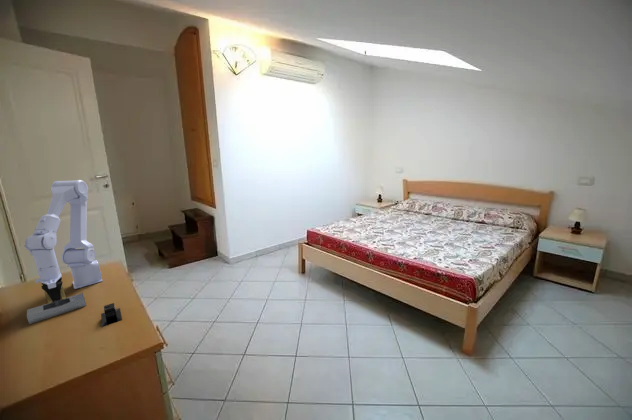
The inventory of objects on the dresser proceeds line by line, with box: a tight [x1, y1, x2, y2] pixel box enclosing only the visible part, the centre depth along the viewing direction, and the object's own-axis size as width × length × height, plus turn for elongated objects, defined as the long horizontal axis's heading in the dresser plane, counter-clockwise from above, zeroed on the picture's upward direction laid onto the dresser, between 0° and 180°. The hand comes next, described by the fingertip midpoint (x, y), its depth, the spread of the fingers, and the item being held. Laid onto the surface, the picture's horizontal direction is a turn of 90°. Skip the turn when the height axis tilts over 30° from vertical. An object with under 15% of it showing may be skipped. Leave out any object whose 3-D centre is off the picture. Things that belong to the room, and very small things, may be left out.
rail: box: [26, 292, 87, 325], centre depth 100 cm, size 15×5×3 cm, turn 134°
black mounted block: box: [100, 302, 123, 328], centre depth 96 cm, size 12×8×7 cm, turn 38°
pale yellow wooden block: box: [44, 284, 67, 304], centre depth 105 cm, size 5×2×6 cm, turn 134°
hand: (56, 298), depth 105 cm, fingers closed on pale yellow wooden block, 2 cm apart
